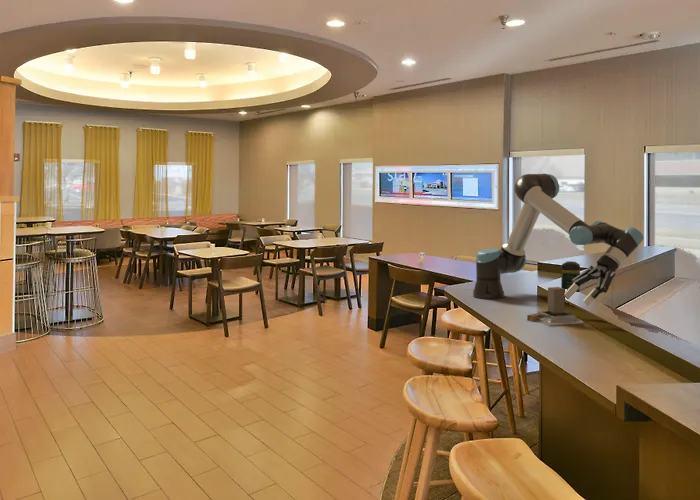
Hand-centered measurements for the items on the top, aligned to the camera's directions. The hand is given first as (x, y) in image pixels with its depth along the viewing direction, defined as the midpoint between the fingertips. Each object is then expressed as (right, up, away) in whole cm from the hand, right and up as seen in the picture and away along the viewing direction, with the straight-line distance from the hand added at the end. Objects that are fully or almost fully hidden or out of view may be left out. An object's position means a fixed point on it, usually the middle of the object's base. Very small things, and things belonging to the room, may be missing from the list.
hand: (575, 300), depth 202 cm
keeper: (-8, -8, 0) cm, 11 cm away
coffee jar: (+13, -4, +35) cm, 38 cm away
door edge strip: (-11, -8, +5) cm, 14 cm away
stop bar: (-8, -7, 0) cm, 11 cm away
